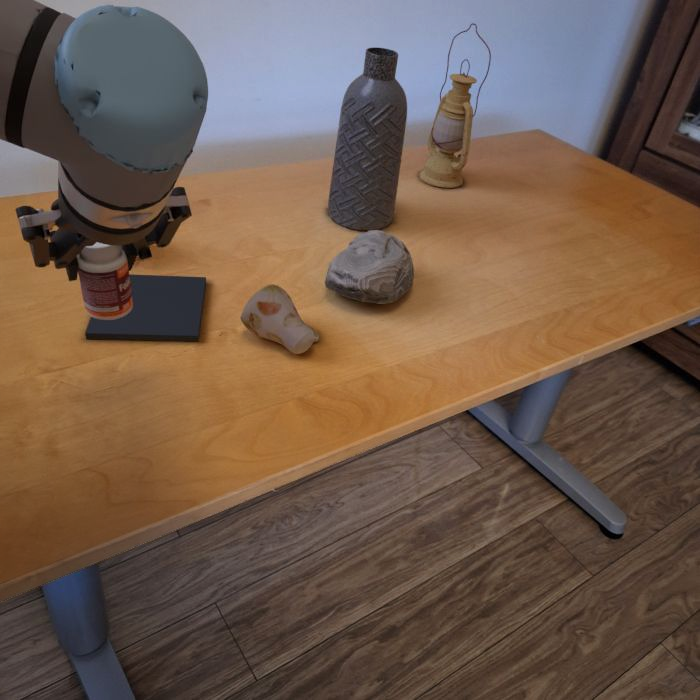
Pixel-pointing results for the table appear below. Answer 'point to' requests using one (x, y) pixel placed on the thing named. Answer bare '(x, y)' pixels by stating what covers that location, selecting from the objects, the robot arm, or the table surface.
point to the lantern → (451, 131)
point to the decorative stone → (372, 269)
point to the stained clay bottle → (278, 319)
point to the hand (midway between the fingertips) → (97, 263)
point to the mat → (157, 311)
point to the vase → (369, 146)
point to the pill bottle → (105, 281)
